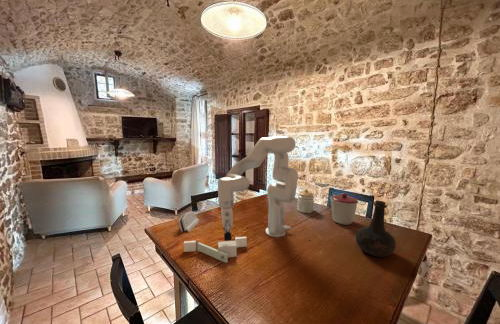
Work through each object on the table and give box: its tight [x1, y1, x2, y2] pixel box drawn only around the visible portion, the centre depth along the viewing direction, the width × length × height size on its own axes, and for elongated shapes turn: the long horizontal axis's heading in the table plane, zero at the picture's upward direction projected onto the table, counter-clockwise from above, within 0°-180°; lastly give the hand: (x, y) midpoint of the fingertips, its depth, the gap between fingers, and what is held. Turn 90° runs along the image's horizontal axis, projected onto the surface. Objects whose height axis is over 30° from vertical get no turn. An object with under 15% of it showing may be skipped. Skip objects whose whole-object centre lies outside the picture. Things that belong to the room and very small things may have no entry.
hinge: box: [178, 211, 200, 233], centre depth 134 cm, size 17×5×10 cm, turn 170°
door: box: [196, 240, 229, 264], centre depth 102 cm, size 20×2×5 cm, turn 58°
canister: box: [330, 192, 360, 226], centre depth 142 cm, size 18×18×21 cm
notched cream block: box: [183, 236, 248, 253], centre depth 109 cm, size 33×2×5 cm, turn 100°
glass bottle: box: [355, 200, 397, 258], centre depth 106 cm, size 18×18×28 cm
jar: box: [296, 188, 315, 214], centre depth 163 cm, size 13×13×18 cm
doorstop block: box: [217, 240, 237, 258], centre depth 103 cm, size 9×5×6 cm, turn 100°
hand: (227, 234), depth 102 cm, fingers open, 9 cm apart
